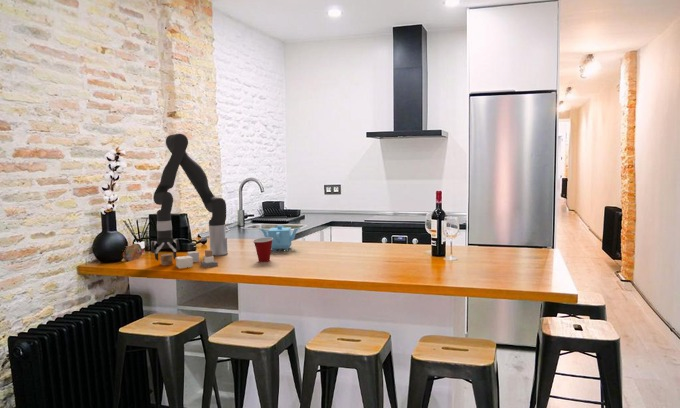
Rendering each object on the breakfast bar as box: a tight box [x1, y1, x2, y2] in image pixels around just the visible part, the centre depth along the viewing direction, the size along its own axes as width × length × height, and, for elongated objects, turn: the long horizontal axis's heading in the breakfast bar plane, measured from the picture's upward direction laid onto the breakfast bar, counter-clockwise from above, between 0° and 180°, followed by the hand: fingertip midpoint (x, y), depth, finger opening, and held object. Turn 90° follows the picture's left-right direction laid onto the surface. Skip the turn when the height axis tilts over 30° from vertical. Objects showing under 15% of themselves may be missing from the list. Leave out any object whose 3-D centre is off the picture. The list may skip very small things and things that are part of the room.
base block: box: [175, 255, 194, 270], centre depth 263 cm, size 7×7×5 cm
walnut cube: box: [160, 253, 173, 266], centre depth 271 cm, size 5×5×5 cm
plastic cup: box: [252, 236, 273, 263], centre depth 272 cm, size 11×11×12 cm
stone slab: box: [122, 243, 143, 262], centre depth 287 cm, size 15×3×8 cm, turn 168°
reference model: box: [200, 249, 219, 269], centre depth 263 cm, size 7×7×8 cm
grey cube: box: [187, 250, 200, 263], centre depth 277 cm, size 5×5×5 cm
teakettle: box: [259, 224, 301, 252], centre depth 306 cm, size 19×19×15 cm
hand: (165, 259), depth 270 cm, fingers open, 8 cm apart
